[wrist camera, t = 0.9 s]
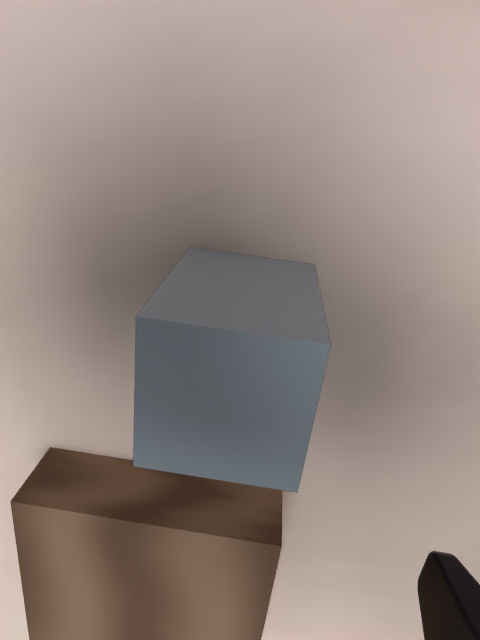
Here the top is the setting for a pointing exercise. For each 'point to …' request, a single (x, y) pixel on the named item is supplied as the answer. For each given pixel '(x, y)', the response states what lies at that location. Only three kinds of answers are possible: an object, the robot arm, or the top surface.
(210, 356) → the slate block
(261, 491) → the walnut block
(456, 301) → the top surface
